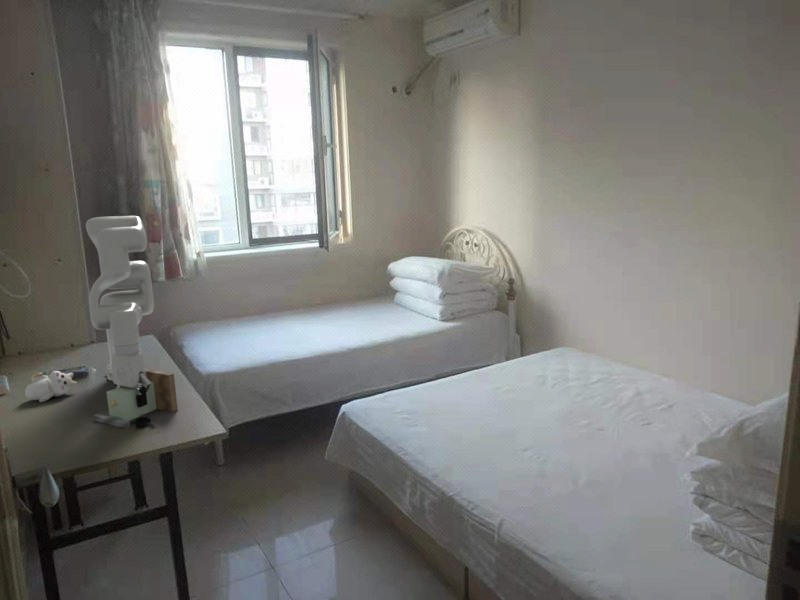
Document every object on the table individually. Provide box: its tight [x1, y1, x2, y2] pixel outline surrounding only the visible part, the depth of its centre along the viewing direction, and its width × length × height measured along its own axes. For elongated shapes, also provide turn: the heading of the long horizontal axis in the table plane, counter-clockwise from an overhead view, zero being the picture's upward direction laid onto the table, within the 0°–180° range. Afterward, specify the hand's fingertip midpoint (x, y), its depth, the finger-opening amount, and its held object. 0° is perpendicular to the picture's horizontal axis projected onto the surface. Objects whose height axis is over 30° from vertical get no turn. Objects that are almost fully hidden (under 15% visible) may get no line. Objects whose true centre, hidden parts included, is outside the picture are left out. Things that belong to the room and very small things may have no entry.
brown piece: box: [92, 367, 178, 429], centre depth 178 cm, size 20×16×12 cm
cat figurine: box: [24, 370, 78, 403], centre depth 195 cm, size 10×8×15 cm
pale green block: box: [106, 381, 158, 422], centre depth 178 cm, size 6×13×9 cm, turn 154°
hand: (133, 403), depth 179 cm, fingers open, 7 cm apart
